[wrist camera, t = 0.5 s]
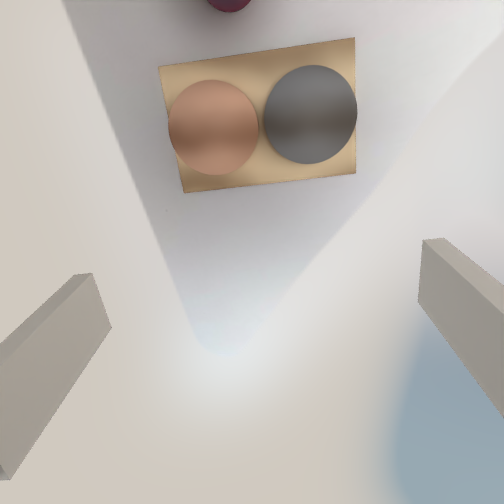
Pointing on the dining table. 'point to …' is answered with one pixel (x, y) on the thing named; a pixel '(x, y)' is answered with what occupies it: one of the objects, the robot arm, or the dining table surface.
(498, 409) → the robot arm
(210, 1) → the cup
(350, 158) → the stand board
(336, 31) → the dining table surface
